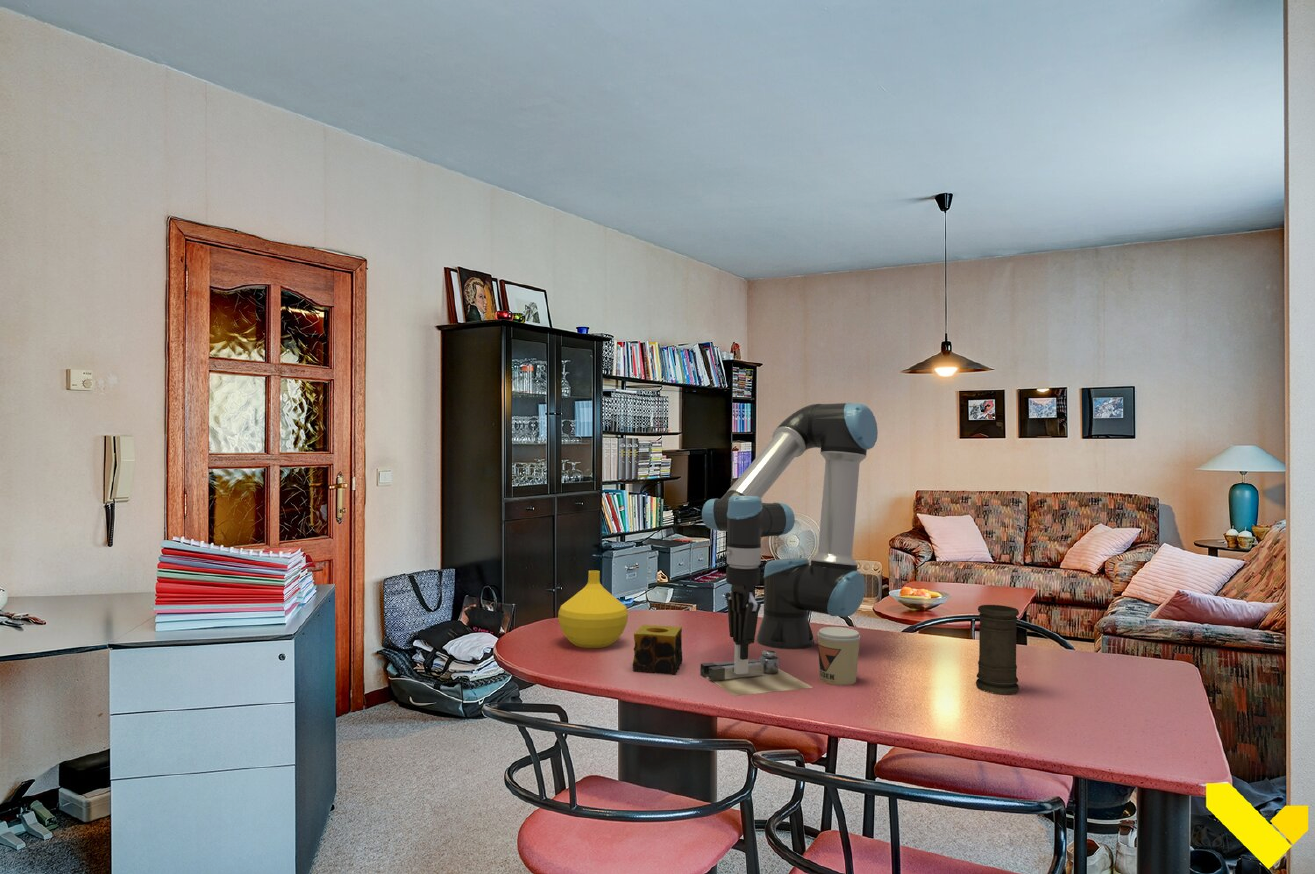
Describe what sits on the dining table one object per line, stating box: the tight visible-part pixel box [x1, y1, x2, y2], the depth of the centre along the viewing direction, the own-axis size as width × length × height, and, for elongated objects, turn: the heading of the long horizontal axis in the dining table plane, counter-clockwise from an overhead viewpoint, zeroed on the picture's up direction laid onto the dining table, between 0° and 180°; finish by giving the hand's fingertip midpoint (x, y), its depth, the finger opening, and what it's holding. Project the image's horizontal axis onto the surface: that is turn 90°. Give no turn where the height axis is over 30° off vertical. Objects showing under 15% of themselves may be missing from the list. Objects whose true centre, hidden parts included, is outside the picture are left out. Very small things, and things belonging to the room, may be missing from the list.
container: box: [975, 604, 1020, 695], centre depth 182 cm, size 9×9×18 cm
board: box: [706, 668, 814, 697], centre depth 181 cm, size 19×17×1 cm
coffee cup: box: [816, 626, 861, 686], centre depth 182 cm, size 9×9×12 cm
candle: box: [632, 624, 683, 676], centre depth 190 cm, size 10×10×10 cm
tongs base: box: [699, 655, 780, 678], centre depth 185 cm, size 18×5×3 cm, turn 111°
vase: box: [557, 570, 629, 649], centre depth 215 cm, size 18×18×19 cm
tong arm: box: [707, 649, 777, 682], centre depth 184 cm, size 18×4×4 cm, turn 114°
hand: (741, 672), depth 180 cm, fingers closed
